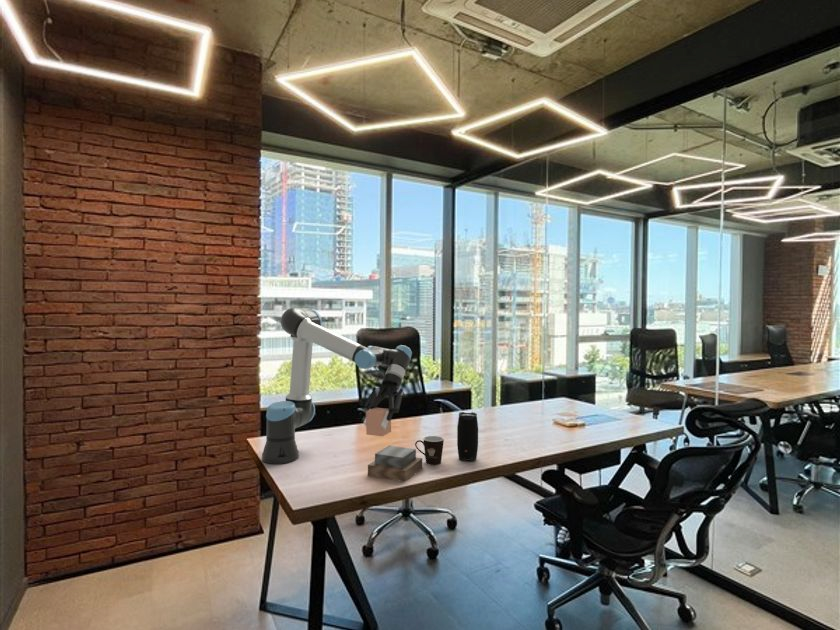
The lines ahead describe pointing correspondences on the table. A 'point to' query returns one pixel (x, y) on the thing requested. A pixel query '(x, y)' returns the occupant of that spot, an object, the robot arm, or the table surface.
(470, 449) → the portable speaker
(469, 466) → the table surface
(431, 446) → the coffee mug
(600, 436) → the table surface
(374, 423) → the terracotta brick
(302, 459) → the table surface
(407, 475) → the block tower
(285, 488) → the table surface
